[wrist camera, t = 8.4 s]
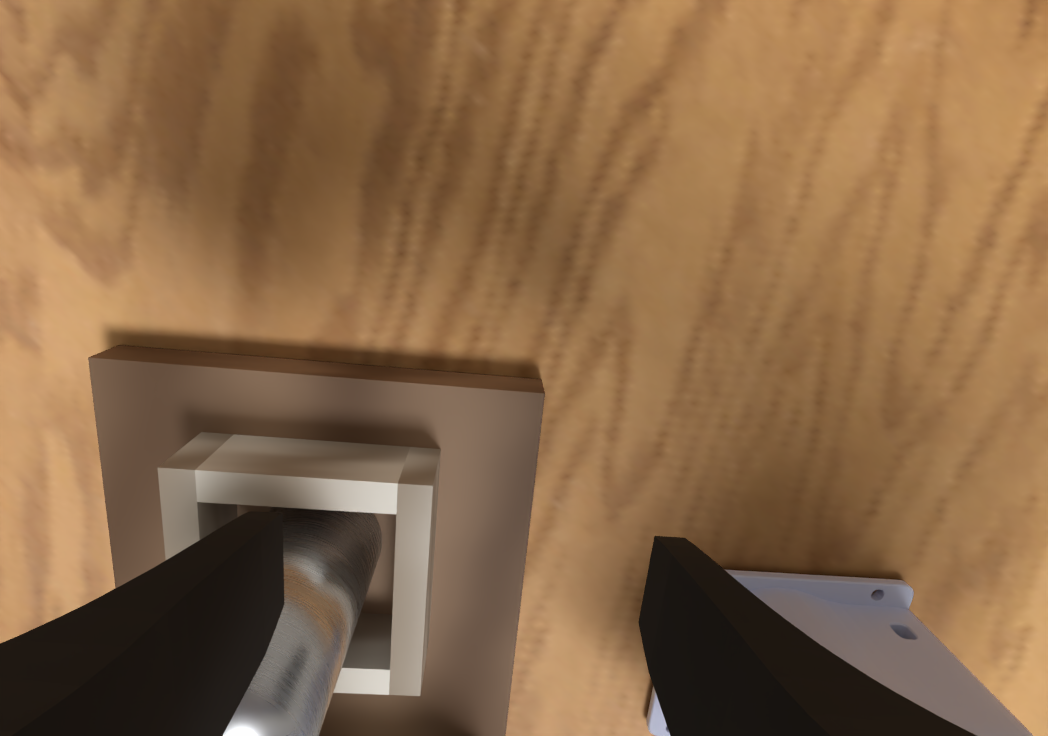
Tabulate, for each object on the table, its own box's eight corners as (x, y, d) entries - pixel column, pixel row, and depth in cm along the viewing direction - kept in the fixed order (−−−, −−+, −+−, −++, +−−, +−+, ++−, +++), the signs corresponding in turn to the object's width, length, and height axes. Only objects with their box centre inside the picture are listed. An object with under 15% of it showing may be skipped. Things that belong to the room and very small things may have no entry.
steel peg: (387, 494, 19) (312, 692, 12) (376, 594, 20) (301, 835, 13) (265, 478, 19) (105, 672, 11) (260, 581, 20) (112, 819, 13)
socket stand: (541, 379, 20) (585, 562, 10) (494, 790, 25) (494, 1172, 16) (118, 345, 19) (-294, 511, 9) (163, 780, 24) (-65, 1183, 14)
